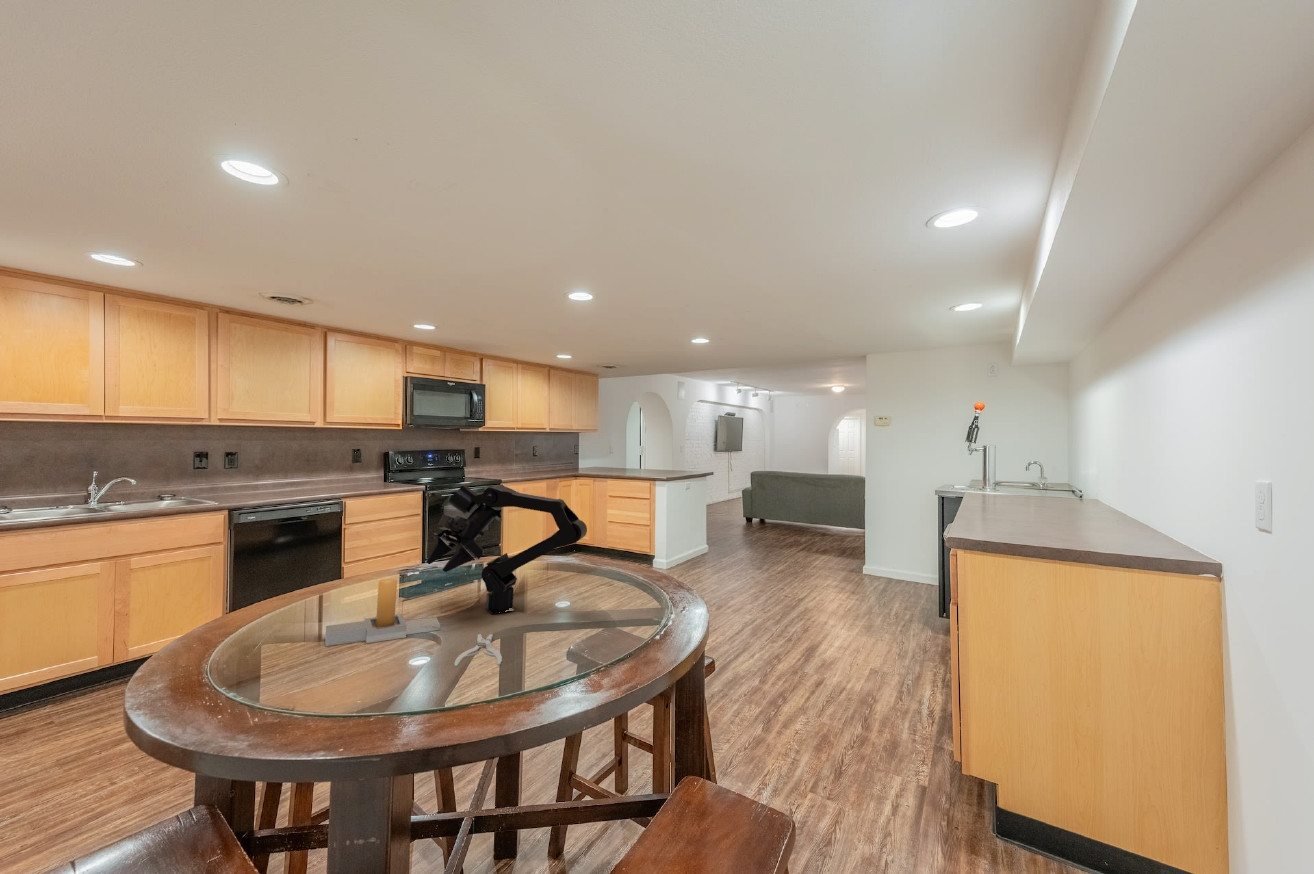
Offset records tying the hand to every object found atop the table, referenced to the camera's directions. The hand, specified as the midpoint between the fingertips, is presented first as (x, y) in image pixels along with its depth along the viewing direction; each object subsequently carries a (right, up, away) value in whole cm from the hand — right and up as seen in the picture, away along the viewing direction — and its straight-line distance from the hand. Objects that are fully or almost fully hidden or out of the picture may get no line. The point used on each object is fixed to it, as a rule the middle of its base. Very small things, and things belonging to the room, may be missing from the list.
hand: (435, 567), depth 138 cm
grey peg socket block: (-7, -13, -13) cm, 20 cm away
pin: (-7, -13, -13) cm, 20 cm away
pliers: (+19, -15, -19) cm, 31 cm away
